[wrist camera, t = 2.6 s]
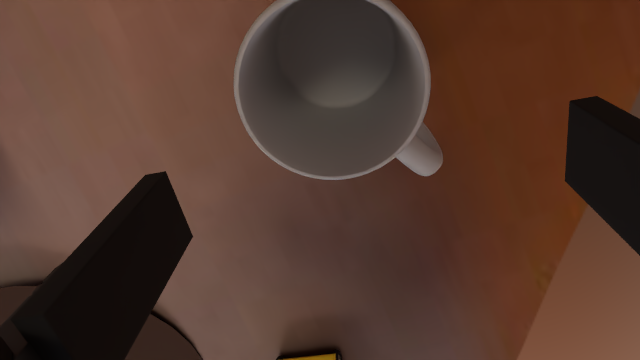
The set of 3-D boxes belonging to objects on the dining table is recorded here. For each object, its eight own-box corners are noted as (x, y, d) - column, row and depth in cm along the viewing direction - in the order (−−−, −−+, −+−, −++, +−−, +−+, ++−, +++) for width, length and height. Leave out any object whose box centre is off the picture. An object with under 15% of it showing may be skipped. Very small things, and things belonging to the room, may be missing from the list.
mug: (245, 52, 28) (191, 101, 18) (330, -61, 25) (320, -73, 15) (375, 162, 31) (389, 254, 21) (466, 75, 28) (530, 138, 18)
